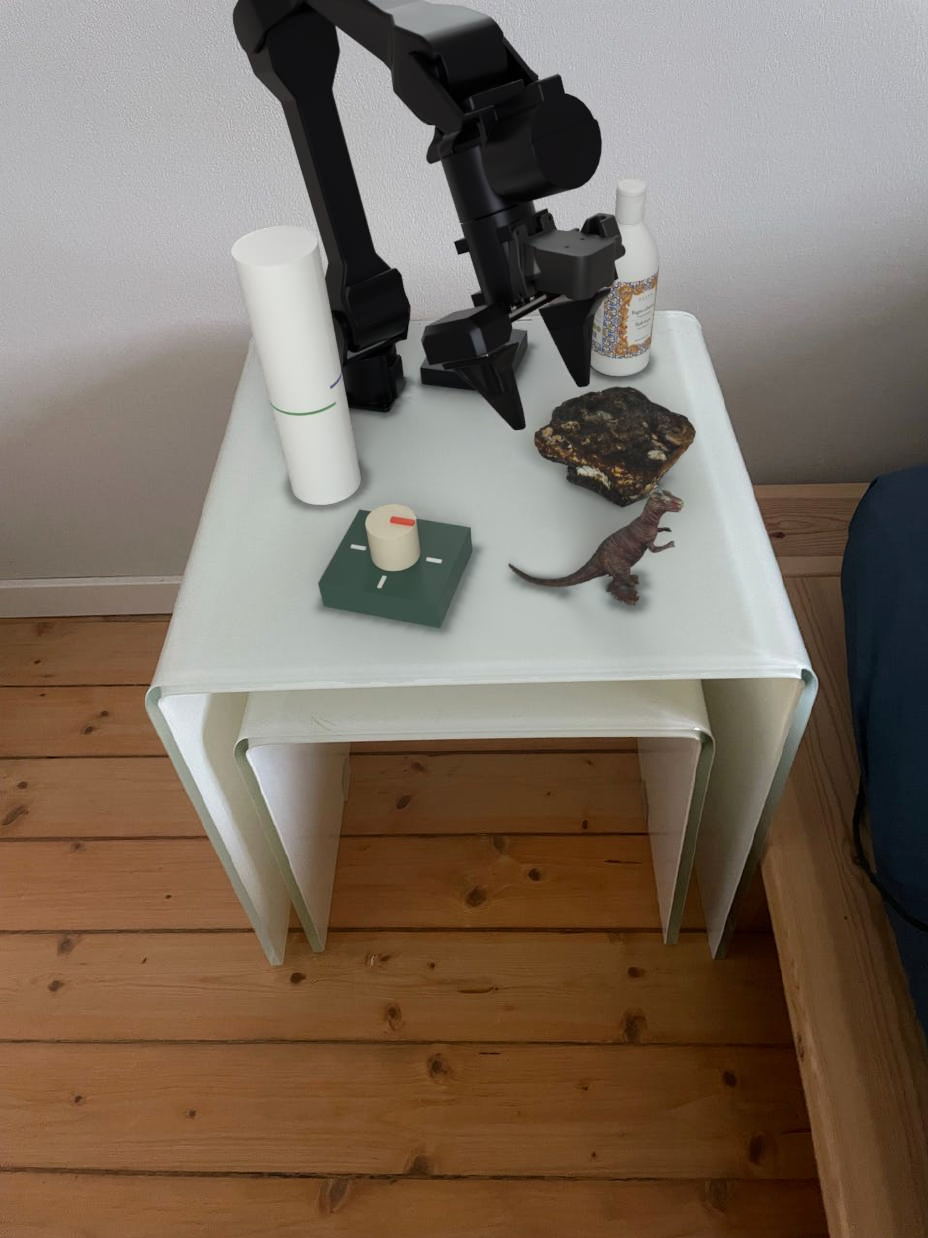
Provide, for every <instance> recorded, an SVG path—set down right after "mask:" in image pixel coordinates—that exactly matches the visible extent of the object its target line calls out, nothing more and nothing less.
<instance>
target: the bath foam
mask: <svg viewBox="0 0 928 1238" xmlns="http://www.w3.org/2000/svg"><path fill="white" fill-rule="evenodd" d="M615 191H616V194H615V211H614V216H615V219H616V221H617V224H618V227H619V230H620V233H621V236H622V245H623V246H624V247H625V249H626V253H625V255H624V256H623V257H621V258H619V259H617V260H616V261H615V266H616V270H617V274H618V278H619V279H617V280H615V281H614V284H613V285H612V286H610V287H604V288H602V289H605V288H611V292H610V294H609V295H608V296H607V297H606V298H605V299H604V300H603V302H602V304H601V305H600V307H599V309H598V310H597V312H596V314H595V317H594V324H593V333H592V350H591V368H593V369H594V370H595V371H596V372H598V373H600V374H603V375H605V376H611V377H628V376H632V375H636V374H637V373H639V372H641V371H643V370H644V369H645V368H646V367H647V365H648V364H649V361H650V356H651V345H652V338H653V328H654V319H655V318H654V317H655V309H656V300H657V291H658V282H659V281H658V280H659V270H660V256H659V249H658V245H657V242H656V240H655V237H654V236H653V234H652V232H651V230H650V228H649V227H648V225H647V223H646V221H645V220H644V219H645V212H646V211H645V210H646V200H647V199H646V197H647V183H646V182H645V181H644V180H642V179H637V178H627V179H622V180H621V181H619V182H618V183H617V184H616V190H615Z"/></svg>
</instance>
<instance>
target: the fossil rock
mask: <svg viewBox="0 0 928 1238" xmlns="http://www.w3.org/2000/svg"><path fill="white" fill-rule="evenodd" d="M696 433H697V431H696V429H695V426H694V425H693V423H692V422H691V421H690V420H689V418H688V416H686V415H684V414H681V413H678V412H675V411H671V410H670V409H668V408H667V407H665V406H663V405H661V404H658V403H656V402H653V401H652V400H650V399H649V398H648V397H647V396H646V395H645V394H644V393H643V392H642V391H640V390H639V389H637V388H635V387H632V386H612V387H609V388H606V389H602V390H601V391H588V392H586V393H583V394H581V395H579V396H575V397H572V398H569V399H567V400H564V401H562V403H561V404H560V405H559V406H556V407H555V408H554V409H553V410H552V412H551V420H550V421H549V423H547V424H546V425H544V426H542V427H539V430H537V431H535V432H534V437H533V442H534V446H535V448H537V450H538V453H539V455H540V456H541V457H542V458H543V459H545V460H547V461H549V462H551V463H556V464H561V465H564V466H565V467H566V466H567V467H566V472H567V475H566V481H567V482H568V483H569V484H572V485H576V486H578V487H581V488H584V489H586V490H588V491H591V492H593V493H594V494H596V495H598V496H600V497H602V498H603V499H605V500H606V502H607V501H608V502H609V503H611V504H614V505H616V506H618V507H620V508H621V509H622V508H626V507H628V506H630V505H632V504H635V503H636V502H639V501H642V500H645V499H648V498H649V496H650V495H651V494H652V493H653V492H652V491H654V489H657V488H658V485H659V482H661V480H662V478H663V477H664V475H665V474H666V473H668V472H669V471H670V469H671V468H672V467H673V466H674V465H675V464H676V463H677V462H678V461H679V459H680V458H681V457H682V455H684V453H685V452H687V451H688V449H689V448H690V446H691V445H692V444H694V440H695V437H696Z"/></svg>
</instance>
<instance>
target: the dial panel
mask: <svg viewBox="0 0 928 1238" xmlns="http://www.w3.org/2000/svg"><path fill="white" fill-rule="evenodd" d="M372 511H373V510H367V509H358V511H357V512H356V514H355V516H354V518H353V520H352V522H351V523H350V525H349V527H348V529H347V531H346V532H345V534H344V536H343V538H342V540H341V541H340V543H339V545H338V547H337V548H336V550H335V552H334V553H333V556H332V557H331V559H330V560H329V563H328V564H327V566H326V568H325V570H324V572H323V574H322V576H321V577H320V578H319V580H318V583H317V584H318V589H319V593H320V597H321V601H322V605H323V607H326V608H330V609H331V608H332V609H336V610H341V611H346V612H352V613H357V614H363V615H367V616H373V617H377V618H384V619H388V620H395V621H399V622H405V623H410V624H416V625H421V626H426V627H430V628H435V629H440V628H442V624H443V622H444V619H445V617H446V615H447V612H448V610H449V608H450V605H451V603H452V600H453V598H454V596H455V593H456V591H457V589H458V586H459V583H460V581H461V580H462V576H463V574H464V571H465V569H466V567H467V565H468V562H469V560H470V558H471V554H472V552H473V539H472V528H471V527H470V526H465V525H459V524H452V523H446V522H441V521H440V522H439V521H434V520H428V519H421V518H416V521H417V529H418V537H419V544H420V557H419V559H418V560H417V562H416V563H415V564H414V565H412V566H411V567H409V568H407V569H404V570H400V571H386V570H383V569H381V568H379V567H377V566H376V565H375V564H374V563H373V561H372V558H371V552H370V547H369V542H368V536H367V531H366V525H365V522H366V518H367V516H368V515H369V514H370V513H371V512H372Z"/></svg>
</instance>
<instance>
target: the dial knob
mask: <svg viewBox="0 0 928 1238" xmlns="http://www.w3.org/2000/svg"><path fill="white" fill-rule="evenodd" d="M371 511H372V512H371V513H370V514H369V515H368V516H367V518H366V522H365V525H366V531H367V536H368V542H369V547H370V552H371V558H372V561H373V563H374V564H375V565H376V566H377V567H379V568H381V569H383V570H386V571H400V570H404V569H407V568H409V567H411V566H412V565H414V564H415V563H416V562H417V560H418V559H419V557H420V544H419V537H418V529H417V521H416V519H417V515H416V514H415V512H414V511H413V510H412V509H411V508H410V507H408V506H406V505H403V504H399V503H389V504H385V505H381V506H378V507H376V508H374V509H373V510H371Z"/></svg>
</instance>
